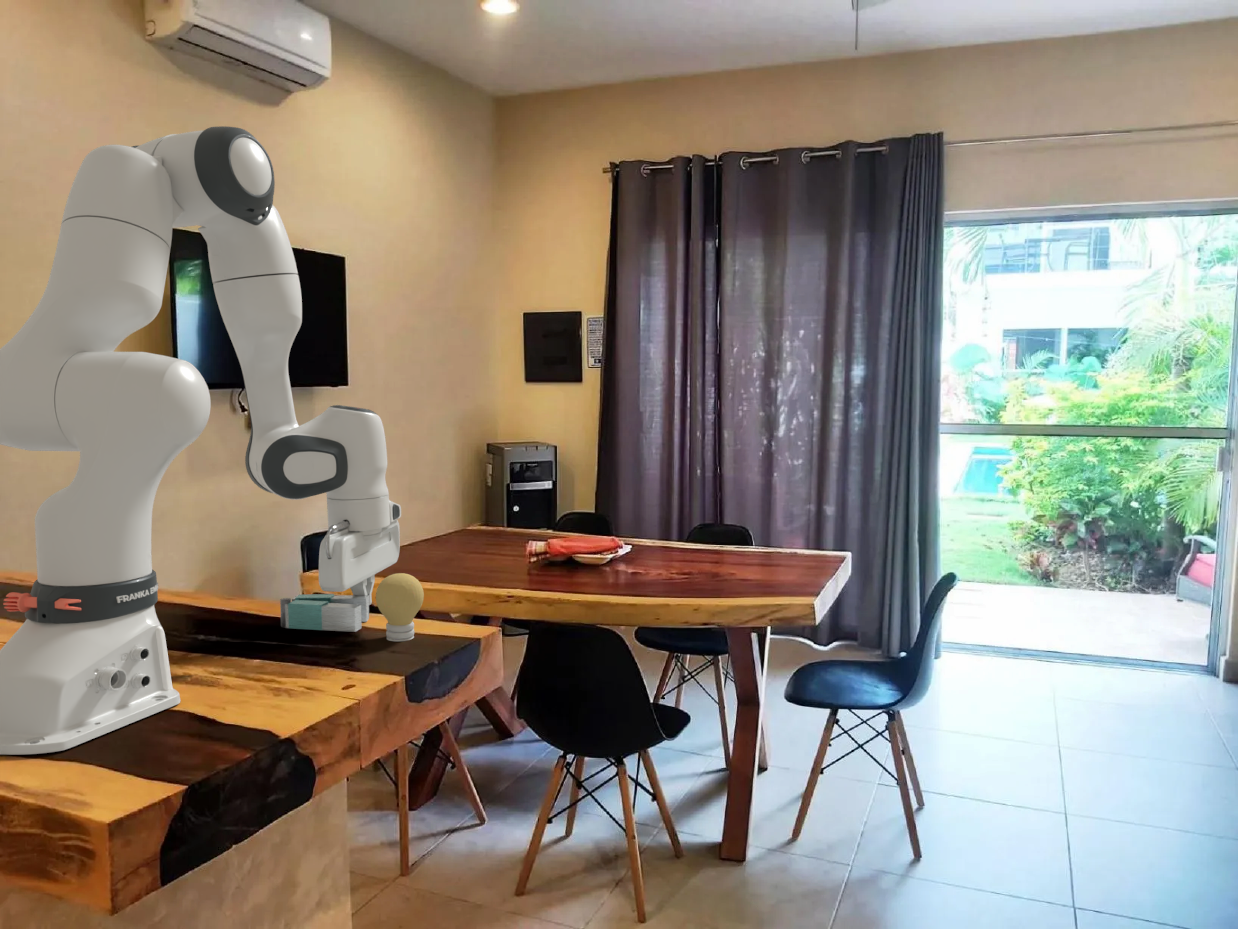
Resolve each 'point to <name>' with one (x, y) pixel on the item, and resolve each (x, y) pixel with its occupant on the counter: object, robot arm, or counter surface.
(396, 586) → the light bulb
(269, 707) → the counter surface
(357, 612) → the tongs fixed arm
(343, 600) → the tong arm
